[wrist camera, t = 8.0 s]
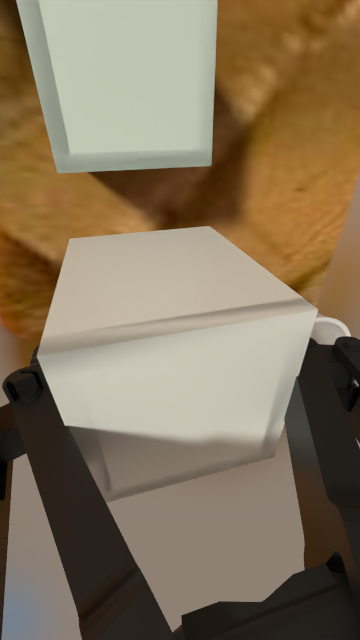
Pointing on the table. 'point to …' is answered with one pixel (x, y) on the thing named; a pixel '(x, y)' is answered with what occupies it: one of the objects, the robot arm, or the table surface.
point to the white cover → (171, 356)
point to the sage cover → (124, 81)
